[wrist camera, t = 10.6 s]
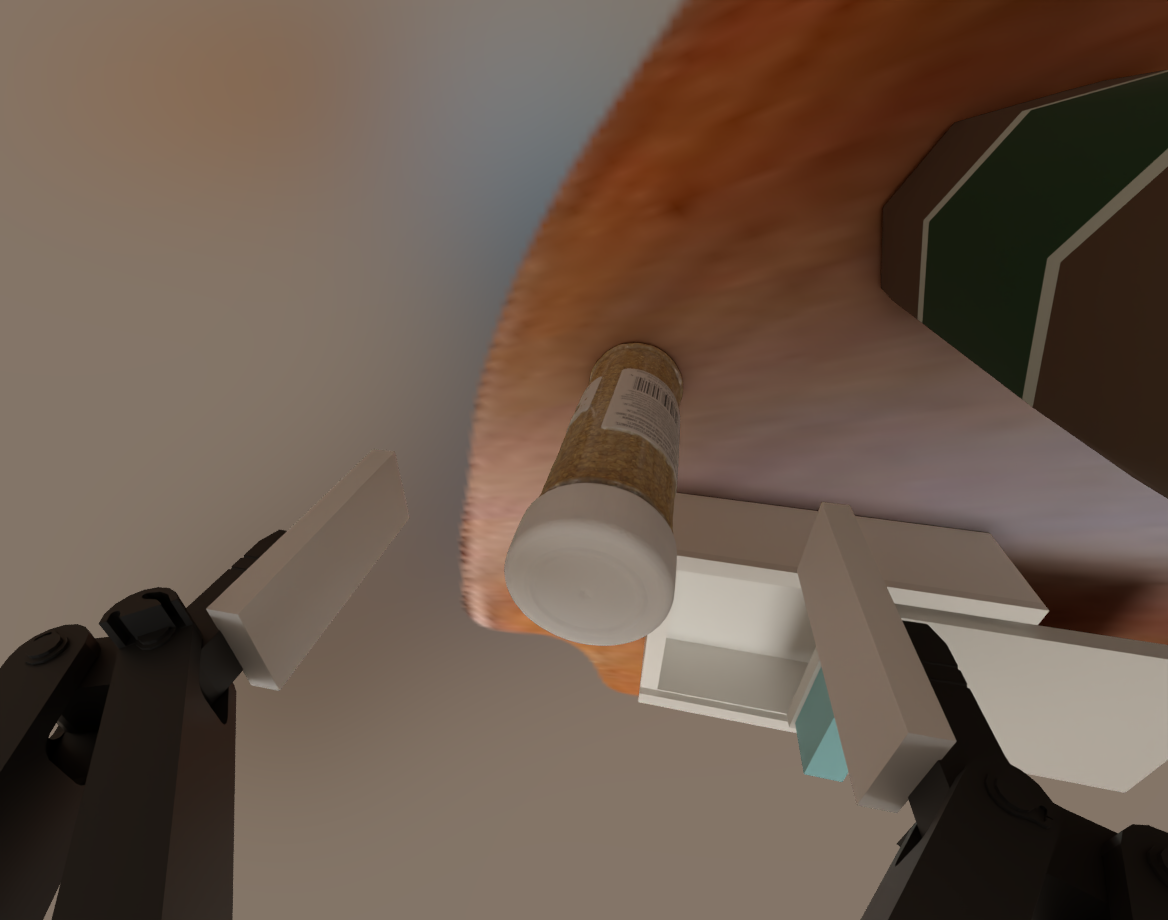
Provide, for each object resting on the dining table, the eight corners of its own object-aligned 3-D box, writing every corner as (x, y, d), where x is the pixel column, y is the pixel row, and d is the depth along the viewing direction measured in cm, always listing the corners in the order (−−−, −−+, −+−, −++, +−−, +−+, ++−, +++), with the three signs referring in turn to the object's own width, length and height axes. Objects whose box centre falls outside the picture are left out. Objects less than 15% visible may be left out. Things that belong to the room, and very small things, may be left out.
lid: (1257, 659, 20) (1350, 743, 17) (1113, 775, 25) (1166, 855, 22) (838, 594, 22) (859, 659, 19) (786, 713, 27) (797, 778, 24)
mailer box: (989, 533, 24) (1049, 610, 20) (900, 678, 31) (931, 759, 27) (664, 491, 27) (659, 552, 22) (645, 634, 33) (638, 702, 29)
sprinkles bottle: (573, 366, 24) (464, 557, 13) (657, 322, 22) (617, 501, 11) (619, 440, 25) (559, 666, 14) (701, 405, 24) (705, 634, 12)
